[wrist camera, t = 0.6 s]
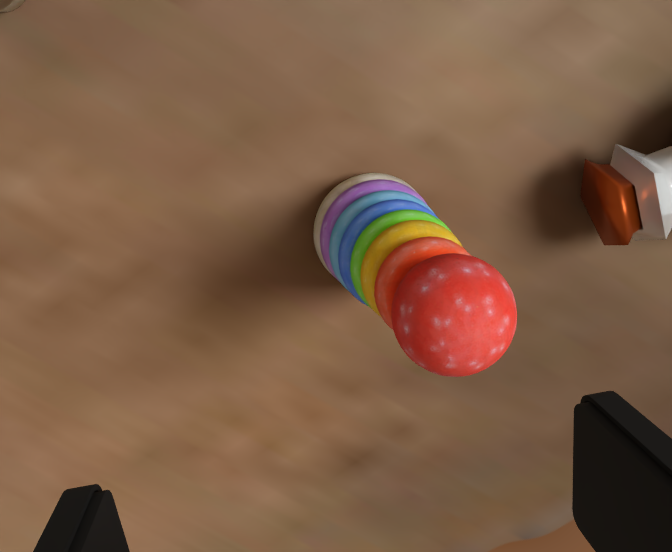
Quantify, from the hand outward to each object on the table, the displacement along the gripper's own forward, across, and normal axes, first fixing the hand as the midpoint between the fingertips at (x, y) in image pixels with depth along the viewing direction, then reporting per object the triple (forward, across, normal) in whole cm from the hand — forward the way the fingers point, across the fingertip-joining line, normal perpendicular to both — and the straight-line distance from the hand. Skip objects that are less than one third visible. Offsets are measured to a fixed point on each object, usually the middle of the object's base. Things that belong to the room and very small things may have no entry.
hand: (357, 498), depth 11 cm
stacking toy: (+28, -5, +2) cm, 29 cm away
